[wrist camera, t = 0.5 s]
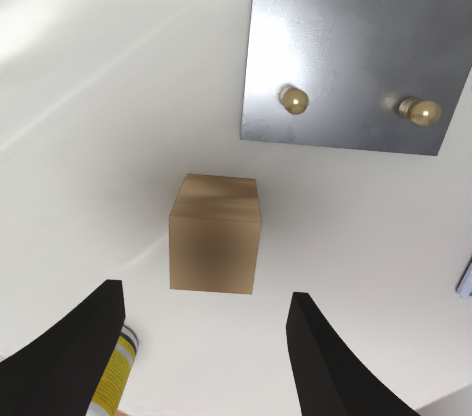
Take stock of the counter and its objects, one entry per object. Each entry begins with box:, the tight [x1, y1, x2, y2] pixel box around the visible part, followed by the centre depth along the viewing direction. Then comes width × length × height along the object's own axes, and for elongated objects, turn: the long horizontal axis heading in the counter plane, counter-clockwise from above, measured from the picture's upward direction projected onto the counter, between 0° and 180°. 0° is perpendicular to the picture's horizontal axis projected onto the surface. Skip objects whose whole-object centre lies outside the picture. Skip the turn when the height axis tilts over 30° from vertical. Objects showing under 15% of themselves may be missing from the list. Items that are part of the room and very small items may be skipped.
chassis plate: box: [240, 0, 472, 156], centre depth 15 cm, size 12×12×3 cm
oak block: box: [169, 174, 262, 295], centre depth 19 cm, size 4×4×6 cm
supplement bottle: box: [86, 327, 138, 416], centre depth 23 cm, size 5×5×10 cm
